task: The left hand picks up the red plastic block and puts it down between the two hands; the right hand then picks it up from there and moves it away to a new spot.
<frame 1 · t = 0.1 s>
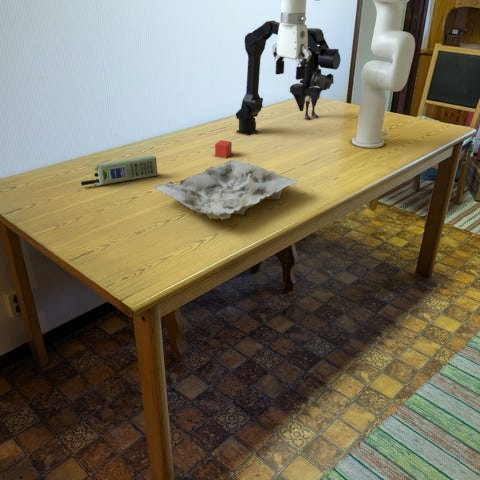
left hand: (307, 108, 192), 15 cm above the table, tool pointing down, fingers open, 9 cm apart
right hand: (289, 76, 164), 31 cm above the table, tool pointing down, fingers open, 9 cm apart
block: (223, 154, 189), on the table
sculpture: (225, 200, 154), on the table
figurine: (309, 117, 234), on the table
handheld radio: (120, 181, 166), on the table
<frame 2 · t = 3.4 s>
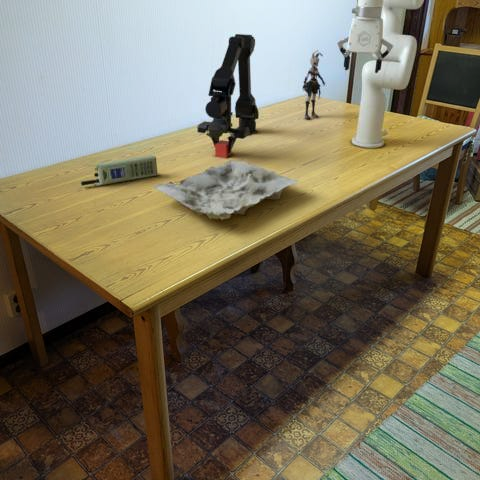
left hand: (223, 152, 189), 1 cm above the table, tool pointing down, fingers closed on block, 4 cm apart
right hand: (361, 70, 164), 33 cm above the table, tool pointing down, fingers open, 9 cm apart
block: (223, 154, 189), on the table, touching left hand
everything else where it was.
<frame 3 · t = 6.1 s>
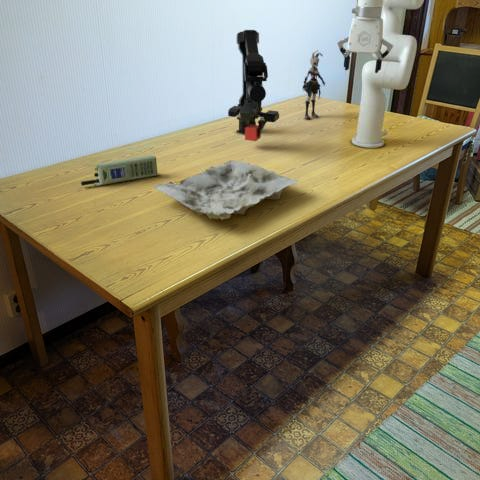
left hand: (252, 135, 194), 5 cm above the table, tool pointing down, fingers closed on block, 4 cm apart
right hand: (361, 70, 164), 33 cm above the table, tool pointing down, fingers open, 9 cm apart
block: (252, 138, 195), point 4 cm above the table, touching left hand
everything else where it was.
when the left hand's fingers open (2 cm above the table, at t = 8.9 s): block drops 1 cm, on the table.
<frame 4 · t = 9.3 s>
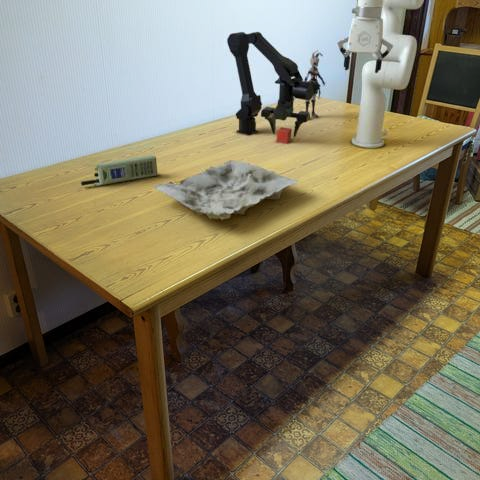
left hand: (284, 135, 203), 2 cm above the table, tool pointing down, fingers open, 8 cm apart
right hand: (361, 70, 164), 33 cm above the table, tool pointing down, fingers open, 9 cm apart
block: (283, 140, 204), on the table
everything else where it was.
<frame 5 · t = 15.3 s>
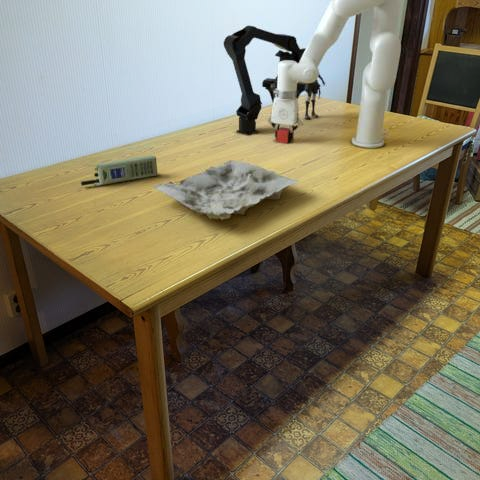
left hand: (283, 105, 218), 9 cm above the table, tool pointing down, fingers open, 9 cm apart
right hand: (284, 139, 204), 0 cm above the table, tool pointing down, fingers closed on block, 4 cm apart
block: (283, 140, 204), on the table, touching right hand
everything else where it was.
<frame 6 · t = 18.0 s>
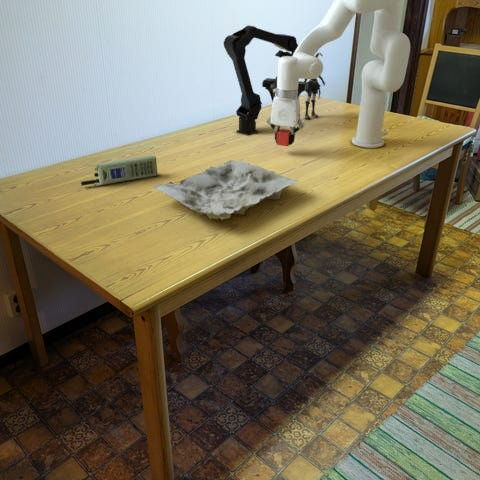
left hand: (283, 105, 218), 9 cm above the table, tool pointing down, fingers open, 9 cm apart
right hand: (284, 142, 189), 4 cm above the table, tool pointing down, fingers closed on block, 4 cm apart
block: (284, 143, 189), point 4 cm above the table, touching right hand
everything else where it was.
when the right hand's fingers open (1 cm above the table, at t = 21.1 s): block drops 1 cm, on the table.
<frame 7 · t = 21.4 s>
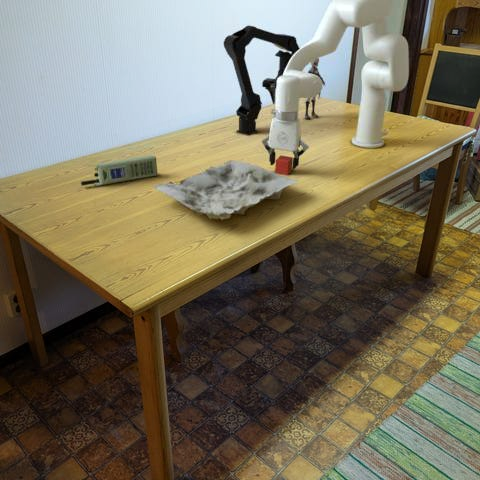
left hand: (283, 105, 218), 9 cm above the table, tool pointing down, fingers open, 9 cm apart
right hand: (283, 165, 174), 2 cm above the table, tool pointing down, fingers open, 7 cm apart
block: (283, 171, 176), on the table
everything else where it was.
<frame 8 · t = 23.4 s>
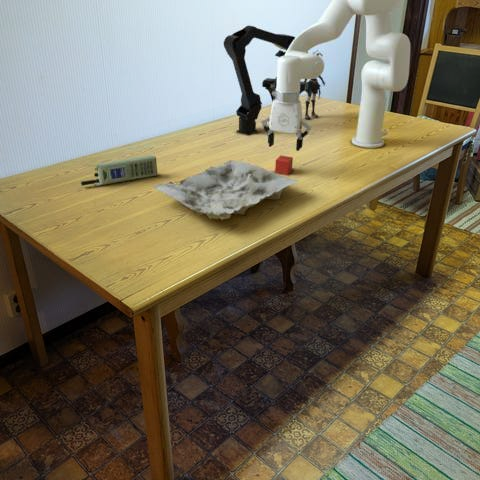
left hand: (283, 105, 218), 9 cm above the table, tool pointing down, fingers open, 9 cm apart
right hand: (284, 147, 171), 9 cm above the table, tool pointing down, fingers open, 9 cm apart
nothing on the table moved.
at the end: block inside the target area (0.1 cm from its centre), on the table; block tilted 0°; the two hands never held the block at the same time; the left hand is holding nothing; the right hand is holding nothing; block at rest at the end (0.0 cm/s) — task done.
